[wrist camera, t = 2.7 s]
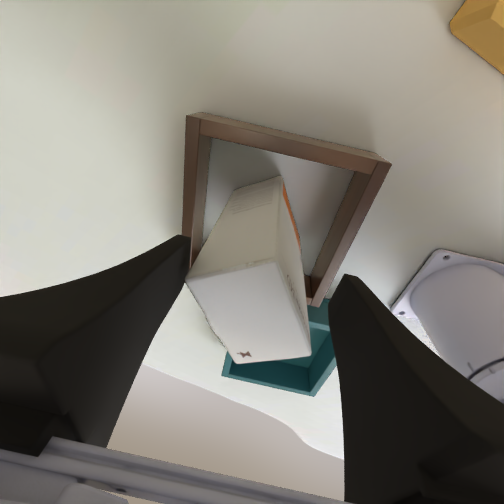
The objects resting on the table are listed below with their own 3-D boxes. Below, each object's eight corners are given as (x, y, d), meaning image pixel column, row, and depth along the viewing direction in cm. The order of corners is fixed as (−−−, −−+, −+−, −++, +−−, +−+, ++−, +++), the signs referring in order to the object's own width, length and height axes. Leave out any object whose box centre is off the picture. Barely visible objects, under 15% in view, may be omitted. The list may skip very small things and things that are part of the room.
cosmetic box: (301, 237, 21) (314, 359, 11) (256, 247, 23) (233, 367, 13) (282, 171, 19) (278, 259, 9) (232, 187, 20) (177, 281, 10)
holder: (376, 153, 17) (393, 163, 14) (315, 284, 24) (319, 307, 22) (201, 111, 17) (185, 114, 14) (191, 256, 24) (180, 276, 21)
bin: (351, 304, 25) (360, 332, 22) (311, 369, 32) (314, 397, 29) (243, 279, 25) (237, 304, 22) (227, 349, 32) (221, 376, 29)
